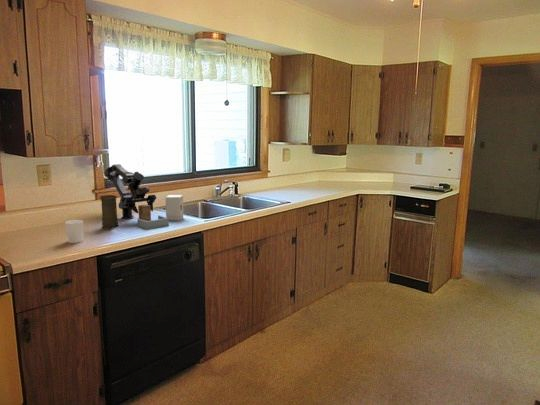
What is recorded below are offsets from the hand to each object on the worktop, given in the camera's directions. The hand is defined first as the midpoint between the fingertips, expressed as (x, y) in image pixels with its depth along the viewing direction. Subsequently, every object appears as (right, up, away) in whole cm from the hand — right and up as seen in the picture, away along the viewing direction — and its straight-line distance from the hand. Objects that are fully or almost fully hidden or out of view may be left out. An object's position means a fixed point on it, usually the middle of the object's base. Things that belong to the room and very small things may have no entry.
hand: (145, 211), depth 235 cm
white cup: (-23, -14, -35) cm, 45 cm away
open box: (+7, -9, -5) cm, 12 cm away
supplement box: (+14, -5, +14) cm, 20 cm away
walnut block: (-1, -7, +2) cm, 7 cm away
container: (-17, -9, -8) cm, 21 cm away
